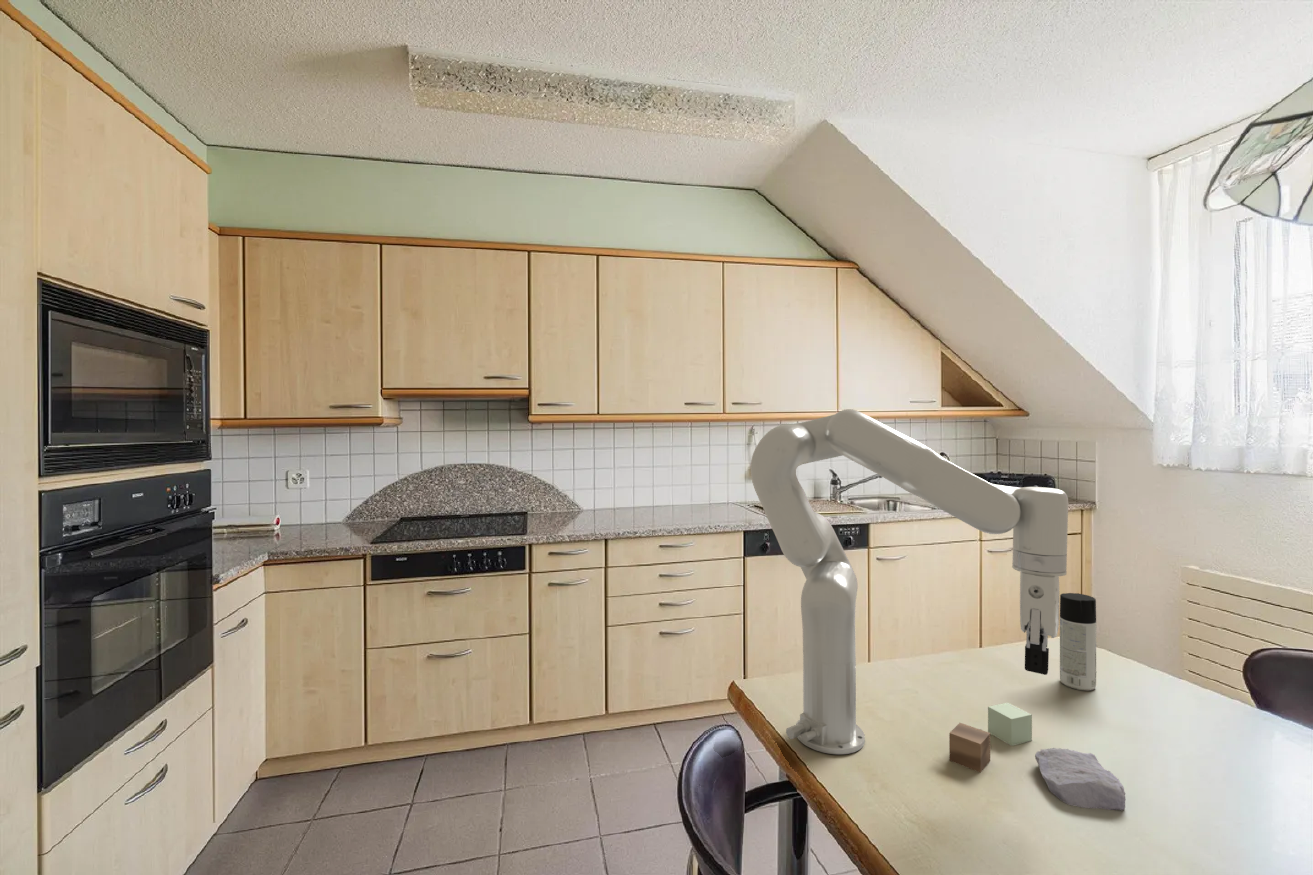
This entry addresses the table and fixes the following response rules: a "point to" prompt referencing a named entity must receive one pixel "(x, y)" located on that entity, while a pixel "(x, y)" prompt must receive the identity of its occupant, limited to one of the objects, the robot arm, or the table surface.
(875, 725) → the table surface
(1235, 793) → the table surface
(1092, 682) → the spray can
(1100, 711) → the table surface
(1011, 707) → the sage block
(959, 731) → the walnut block
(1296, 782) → the table surface
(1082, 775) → the stone block
